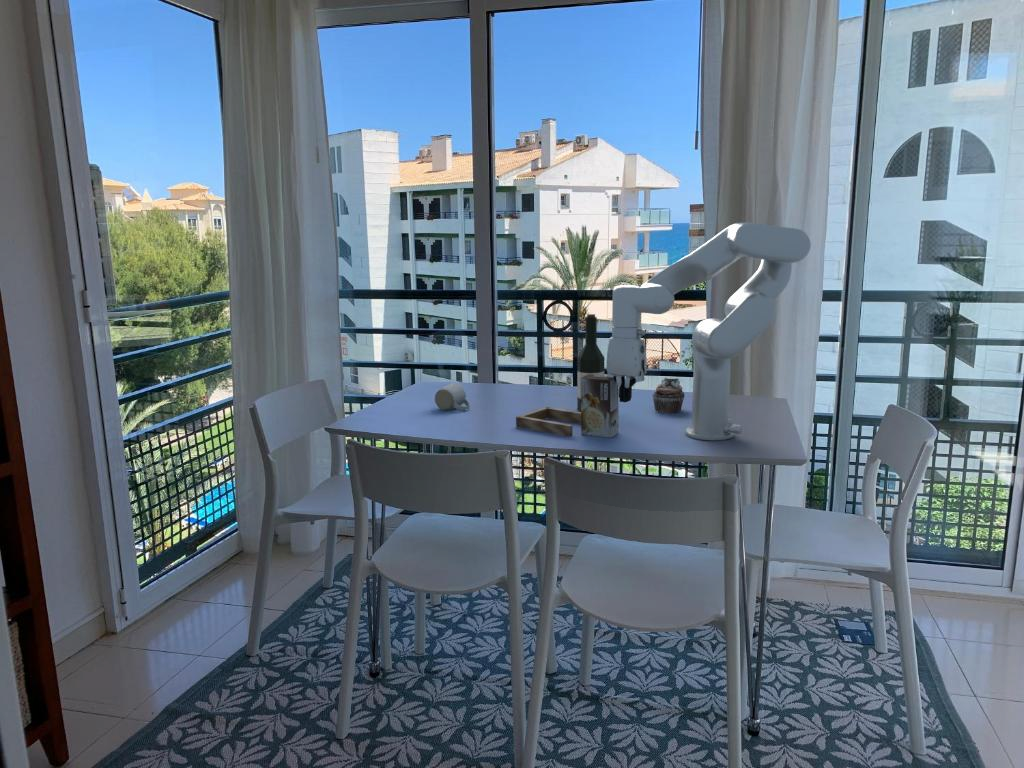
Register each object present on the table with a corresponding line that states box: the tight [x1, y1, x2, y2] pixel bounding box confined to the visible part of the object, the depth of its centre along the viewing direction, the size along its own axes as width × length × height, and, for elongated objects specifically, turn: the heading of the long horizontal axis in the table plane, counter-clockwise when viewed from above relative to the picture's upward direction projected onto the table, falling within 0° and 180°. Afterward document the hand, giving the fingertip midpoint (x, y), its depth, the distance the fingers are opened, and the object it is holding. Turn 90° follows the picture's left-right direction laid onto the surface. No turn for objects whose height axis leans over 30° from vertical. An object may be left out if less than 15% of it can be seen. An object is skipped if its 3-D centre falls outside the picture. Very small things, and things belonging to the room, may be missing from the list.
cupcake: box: [652, 377, 685, 414], centre depth 229 cm, size 10×10×10 cm
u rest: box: [515, 406, 581, 437], centre depth 214 cm, size 18×15×3 cm
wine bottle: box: [576, 313, 605, 412], centre depth 230 cm, size 8×8×30 cm
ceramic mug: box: [434, 382, 471, 411], centre depth 237 cm, size 11×8×8 cm
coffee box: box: [580, 374, 619, 439], centre depth 204 cm, size 9×6×16 cm
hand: (625, 401), depth 199 cm, fingers closed
